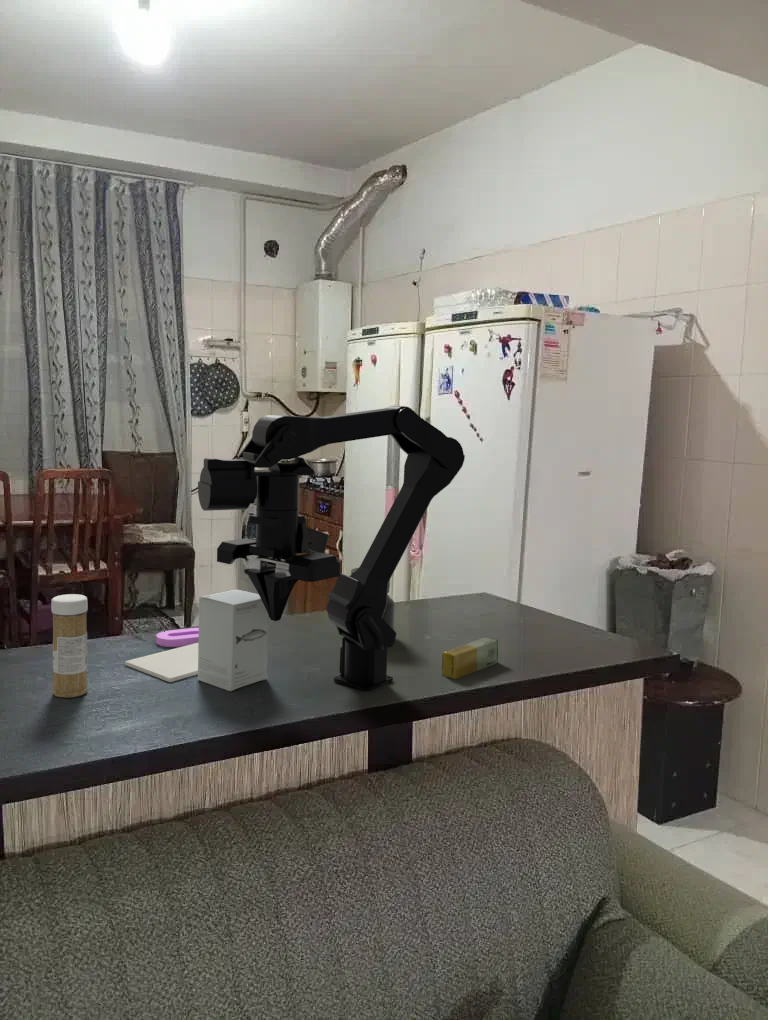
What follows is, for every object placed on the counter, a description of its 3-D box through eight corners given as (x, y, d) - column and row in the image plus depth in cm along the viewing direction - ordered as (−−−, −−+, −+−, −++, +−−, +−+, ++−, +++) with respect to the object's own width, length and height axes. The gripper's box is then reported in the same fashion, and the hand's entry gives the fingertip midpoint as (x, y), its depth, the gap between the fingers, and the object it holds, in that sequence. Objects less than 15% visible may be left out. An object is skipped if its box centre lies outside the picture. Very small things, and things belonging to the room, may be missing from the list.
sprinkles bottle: (58, 687, 113) (57, 592, 111) (92, 687, 113) (91, 593, 112) (48, 699, 108) (46, 600, 107) (83, 699, 109) (82, 601, 107)
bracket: (227, 632, 143) (227, 593, 143) (237, 640, 139) (238, 600, 138) (152, 640, 137) (152, 599, 136) (161, 649, 132) (161, 607, 131)
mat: (243, 660, 127) (243, 657, 127) (169, 682, 117) (170, 678, 117) (198, 645, 134) (198, 642, 134) (125, 664, 123) (125, 661, 123)
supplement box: (231, 692, 114) (232, 604, 112) (196, 680, 118) (197, 595, 116) (269, 679, 119) (270, 595, 118) (234, 668, 124) (235, 587, 122)
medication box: (485, 659, 134) (485, 636, 133) (498, 663, 132) (499, 639, 131) (440, 676, 125) (441, 651, 124) (454, 680, 123) (455, 654, 122)
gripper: (368, 510, 111) (365, 622, 113) (272, 497, 122) (271, 598, 124) (311, 518, 102) (309, 638, 104) (214, 502, 113) (214, 611, 115)
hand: (275, 620), depth 112 cm, fingers closed
